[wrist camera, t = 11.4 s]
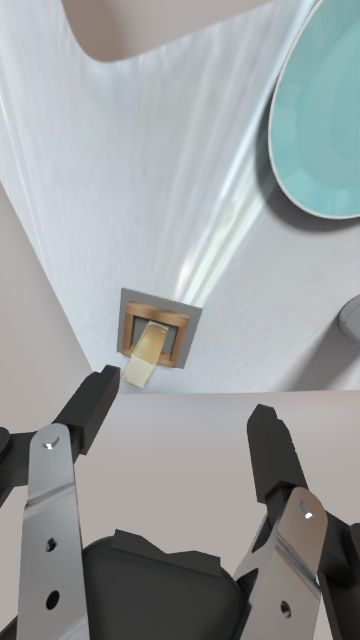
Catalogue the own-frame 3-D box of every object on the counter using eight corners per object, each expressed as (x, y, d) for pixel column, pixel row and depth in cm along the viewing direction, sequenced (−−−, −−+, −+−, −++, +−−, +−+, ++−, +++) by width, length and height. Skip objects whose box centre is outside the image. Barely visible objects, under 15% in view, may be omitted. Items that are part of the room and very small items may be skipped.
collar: (189, 315, 40) (188, 322, 38) (176, 360, 46) (175, 368, 44) (130, 300, 40) (126, 305, 38) (125, 347, 46) (121, 354, 44)
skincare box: (158, 347, 45) (142, 390, 34) (140, 338, 44) (118, 380, 34) (170, 325, 42) (157, 366, 31) (151, 316, 41) (131, 354, 30)
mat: (202, 308, 39) (202, 309, 39) (183, 367, 47) (183, 368, 47) (122, 287, 39) (121, 288, 39) (117, 350, 47) (116, 351, 47)
